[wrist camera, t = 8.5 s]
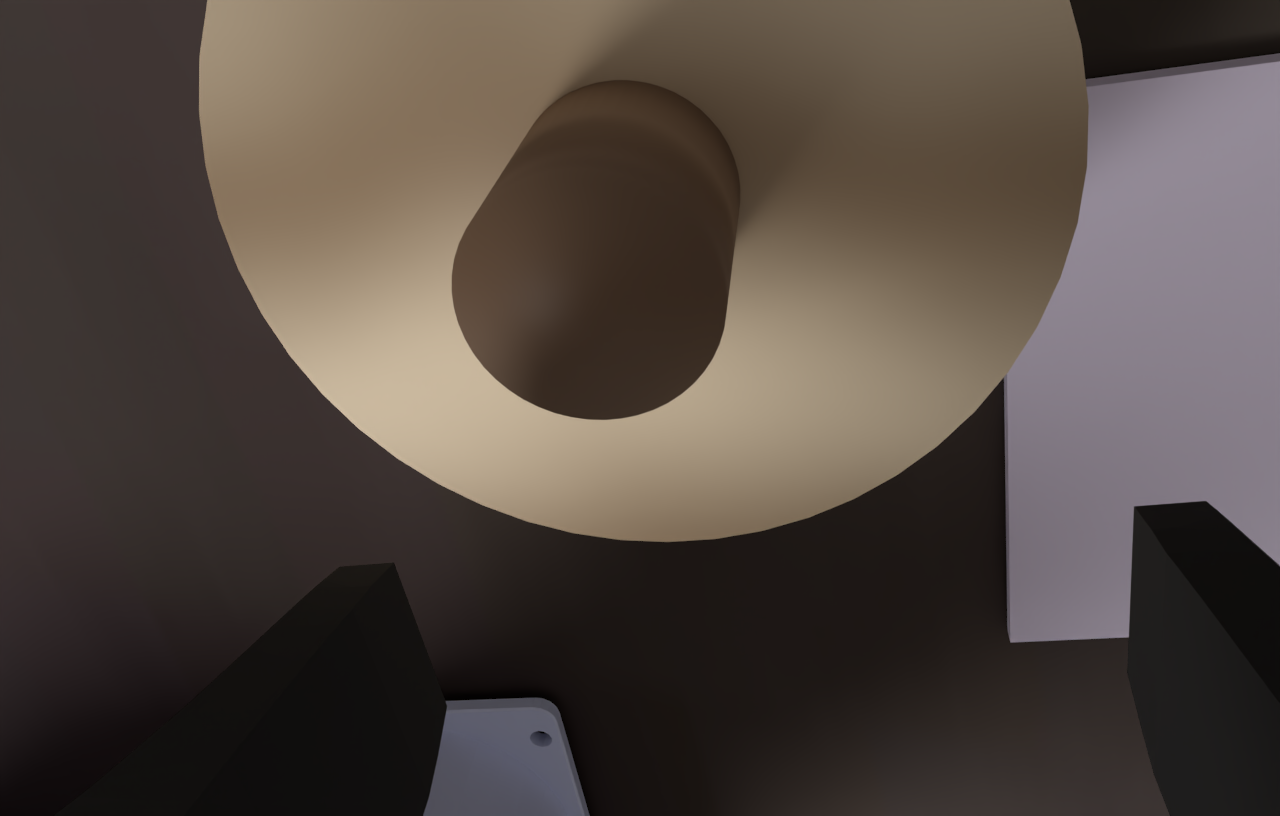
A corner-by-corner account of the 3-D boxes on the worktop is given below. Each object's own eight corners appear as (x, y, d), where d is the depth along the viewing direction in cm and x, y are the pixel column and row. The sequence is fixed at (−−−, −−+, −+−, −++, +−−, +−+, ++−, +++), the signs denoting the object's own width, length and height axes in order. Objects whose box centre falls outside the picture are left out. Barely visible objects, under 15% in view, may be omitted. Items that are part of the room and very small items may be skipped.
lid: (1081, 429, 17) (1165, 648, 13) (408, 517, 19) (308, 723, 15) (1031, -459, 11) (1149, -544, 8) (112, -185, 14) (-155, -142, 10)
